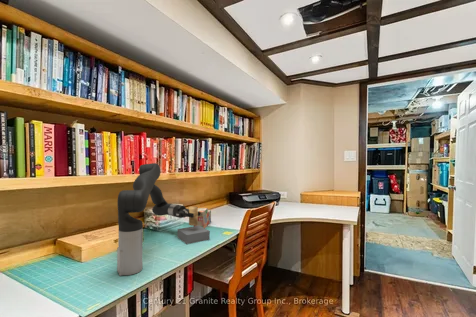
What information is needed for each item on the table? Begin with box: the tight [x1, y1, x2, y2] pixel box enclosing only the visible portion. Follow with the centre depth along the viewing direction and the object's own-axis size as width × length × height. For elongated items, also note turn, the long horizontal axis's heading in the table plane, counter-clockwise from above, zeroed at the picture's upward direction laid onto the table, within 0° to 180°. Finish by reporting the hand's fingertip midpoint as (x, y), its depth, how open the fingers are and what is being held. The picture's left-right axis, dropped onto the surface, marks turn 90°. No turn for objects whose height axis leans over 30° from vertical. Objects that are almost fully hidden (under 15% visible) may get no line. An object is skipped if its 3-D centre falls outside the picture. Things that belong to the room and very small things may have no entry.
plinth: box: [176, 226, 211, 245], centre depth 144 cm, size 14×14×5 cm
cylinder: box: [188, 206, 199, 227], centre depth 144 cm, size 5×5×10 cm
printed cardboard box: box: [195, 207, 212, 229], centre depth 172 cm, size 21×6×12 cm, turn 172°
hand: (196, 214), depth 143 cm, fingers closed on cylinder, 5 cm apart
